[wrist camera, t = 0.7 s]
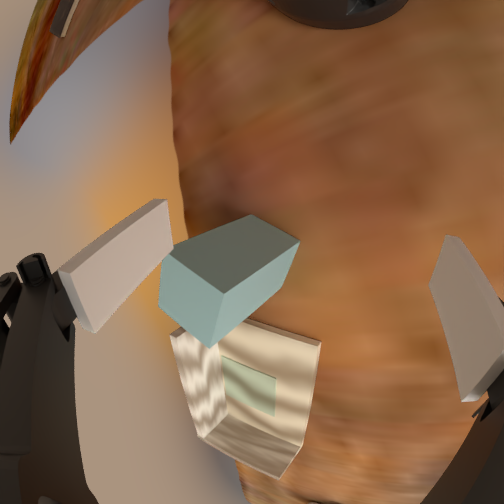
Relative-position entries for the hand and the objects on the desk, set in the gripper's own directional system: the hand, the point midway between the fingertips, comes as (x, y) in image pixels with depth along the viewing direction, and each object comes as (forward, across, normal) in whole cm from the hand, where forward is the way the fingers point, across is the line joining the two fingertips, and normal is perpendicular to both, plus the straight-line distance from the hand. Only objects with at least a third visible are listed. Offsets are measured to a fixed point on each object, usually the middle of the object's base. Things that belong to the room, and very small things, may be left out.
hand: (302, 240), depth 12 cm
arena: (+11, -4, -31) cm, 33 cm away
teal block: (+14, -5, -10) cm, 18 cm away
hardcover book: (+42, -63, +45) cm, 88 cm away
